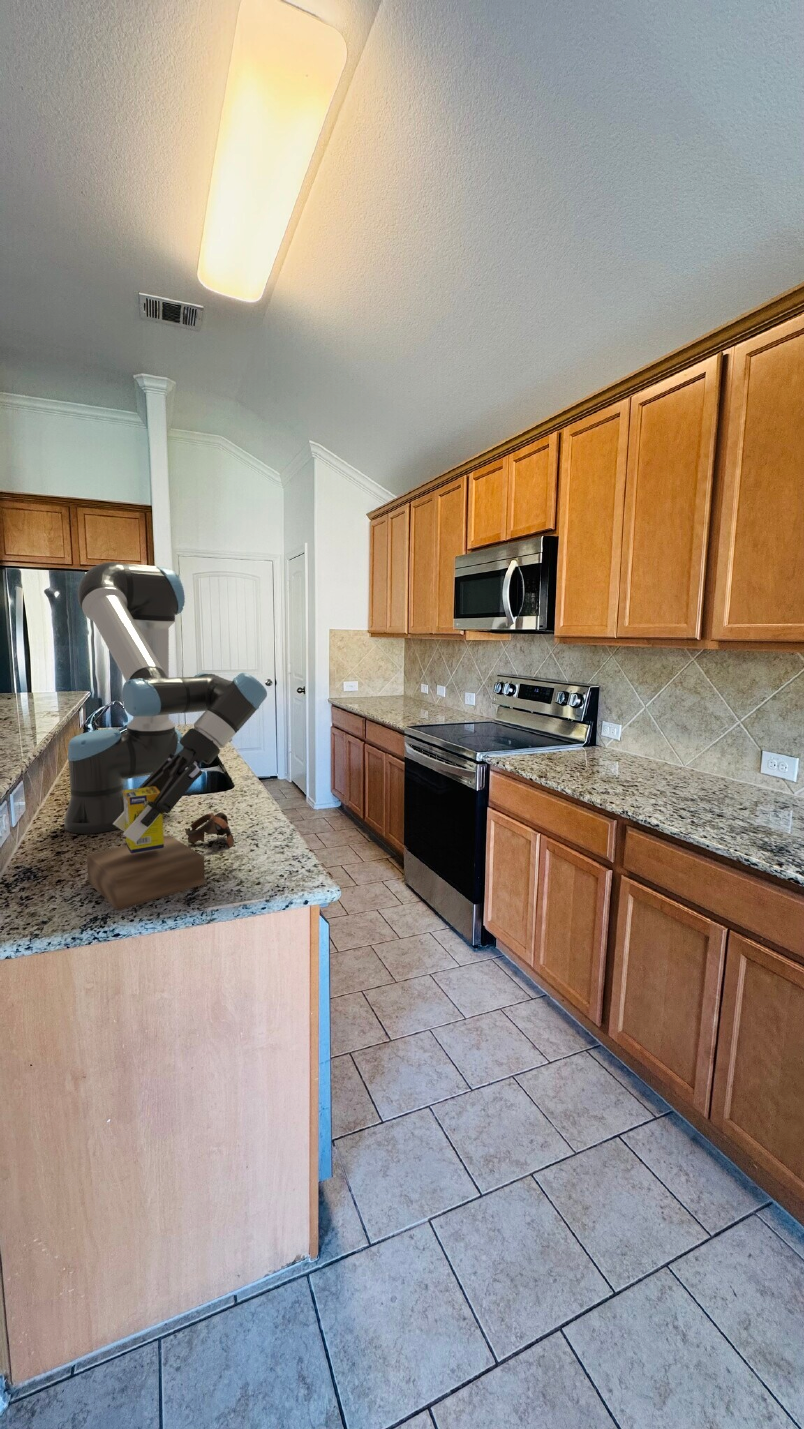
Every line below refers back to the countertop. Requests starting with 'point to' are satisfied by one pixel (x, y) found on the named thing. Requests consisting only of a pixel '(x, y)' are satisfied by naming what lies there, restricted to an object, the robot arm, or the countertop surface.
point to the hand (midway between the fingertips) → (124, 832)
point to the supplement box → (132, 809)
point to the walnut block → (144, 873)
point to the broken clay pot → (210, 828)
